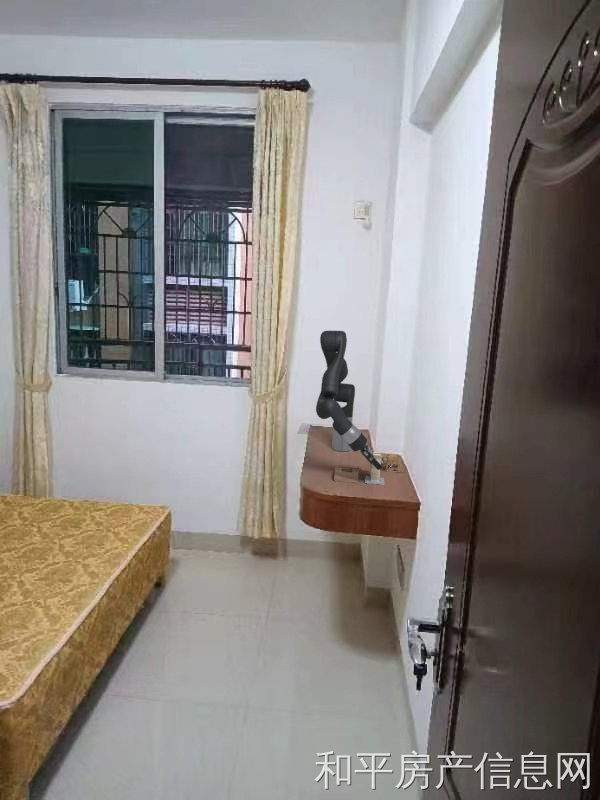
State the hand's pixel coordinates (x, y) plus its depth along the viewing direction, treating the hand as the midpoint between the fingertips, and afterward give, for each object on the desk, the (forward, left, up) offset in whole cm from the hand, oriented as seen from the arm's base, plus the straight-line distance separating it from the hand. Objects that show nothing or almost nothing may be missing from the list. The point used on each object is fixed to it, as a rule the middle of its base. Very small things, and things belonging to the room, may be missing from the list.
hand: (379, 465), depth 249 cm
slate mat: (0, -1, -7) cm, 7 cm away
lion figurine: (-18, +5, -7) cm, 20 cm away
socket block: (-1, -13, -7) cm, 15 cm away
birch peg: (0, -1, -6) cm, 7 cm away
